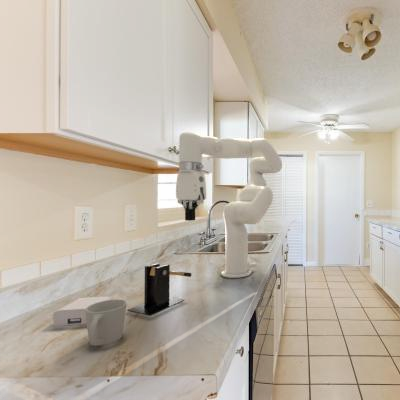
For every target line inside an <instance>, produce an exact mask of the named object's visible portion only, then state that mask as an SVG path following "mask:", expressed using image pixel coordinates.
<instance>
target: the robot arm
mask: <svg viewBox="0 0 400 400" xmlns="http://www.w3.org/2000/svg"><path fill="white" fill-rule="evenodd" d="M178 144H179V145H178V162H179V163H178V172H177V176H176V184H175V198H176V200H177V204H180V205H182V207H183V210H184V220H185V221H187V222H188V221H189V222H192V221H196V210H197V209H198V207H199V205H202V204H204V201H205V200H206V199H207V182H206V176H205V173H204V172H203V169H204V168H205V167H204V164H203V159H224V160H225V159H227V160H229V159H251V160H250V161H249V174H250V178H249V180H248V181H247V183H246V184H245V185H244V187H243V188H242V189H241V190H240V192H239V194H238V196H237V199H238V201H237V200H236V201H230V202H228V203H226V204H225V205H224V207H223V210H222V216H223V222H224V228H225V229H224V230H225V232H224V233H225V238H224V239H225V242H224V243H225V244H224V245H225V246H224V249H225V253H224V255H225V257H224V259H225V261H224V263H225V264H224V270H222V271H221V276H222V277H223V278H229V279H241V278H244V277H245V278H246V277H249V276H250V275H251V274H252V270H251V269H252V268H255V267H257V263H256V262H249V233H248V228H247V226H246V225H256V224H258V223H260V222H261V221H262V219H263V218H264V216H265V215H266V213H267V212H268V210H269V209H270V207H271V205H272V203H273V199H274V195H273V194H274V193H273V191H272V189H271V188H270V187H269V186H267V181H266V180H265V177H264V175H265V174H266V175H267V174H278V173H279V172H280V171H281V170H282V168H283V161H282V159H281V157H280V155H279V154H278V152H277V150H276V149H275V148H274V146H273V145H272V144H271V142H270V141H269V140H268V139H266V138H265V137H258V138H249V139H248V138H236V137H229V138H228V137H227V138H226V137H225V138H220V139H219V138H218V137H215V136H209V135H200V134H199V133H196V132H189V131H187V132H182V133H180V134H179V138H178Z"/></svg>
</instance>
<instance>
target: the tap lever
mask: <svg viewBox="0 0 400 400" xmlns="http://www.w3.org/2000/svg"><path fill="white" fill-rule="evenodd" d="M155 268H156V267H152V268H151V272H150V275H152V276H155ZM170 275H171V276H180V277H188V278H190V277H192V273H191V272H186V271H180V270H178V271H173V270H170Z"/></svg>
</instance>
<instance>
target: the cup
mask: <svg viewBox="0 0 400 400" xmlns="http://www.w3.org/2000/svg"><path fill="white" fill-rule="evenodd" d="M126 312H127V301H126V300H125V299H117V298H115V299H113V300H106V301H102V302H98V303H95V304H92V305H90V306H88V307H87V308H86V309H85V314H86V322H87V324H86V329H87V335H88V341H89V344H90V346H93V347H99V346H100V347H101V346H102V347H103V346H107V345H110V344H113V343H115V342H118V341H119V340H120V339H121V338H122V337H123V331H124V325H125V320H126Z"/></svg>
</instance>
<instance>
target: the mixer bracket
mask: <svg viewBox="0 0 400 400" xmlns="http://www.w3.org/2000/svg"><path fill="white" fill-rule="evenodd" d="M170 265H171V264H164V265H161V263H159V262H157V263H152V264H149V265H144V296H143V297H144V301H143V302H144V303H142V304H139V305H136V306H134V307H131V308H129V309H126V312H131V313H135V314H139V315H145V316H149V317H151V316H153V315H155V314H158V313H160V312H163V311H164V310H167V309H169V308H171V307H173V306H176V305H178V304H180V303H183V302H185V300H184V299H180V298H175V297H170V271H171V270H170V269H171V268H170ZM152 267H156V268H155V276H152V275H150V272H151V268H152Z"/></svg>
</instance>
